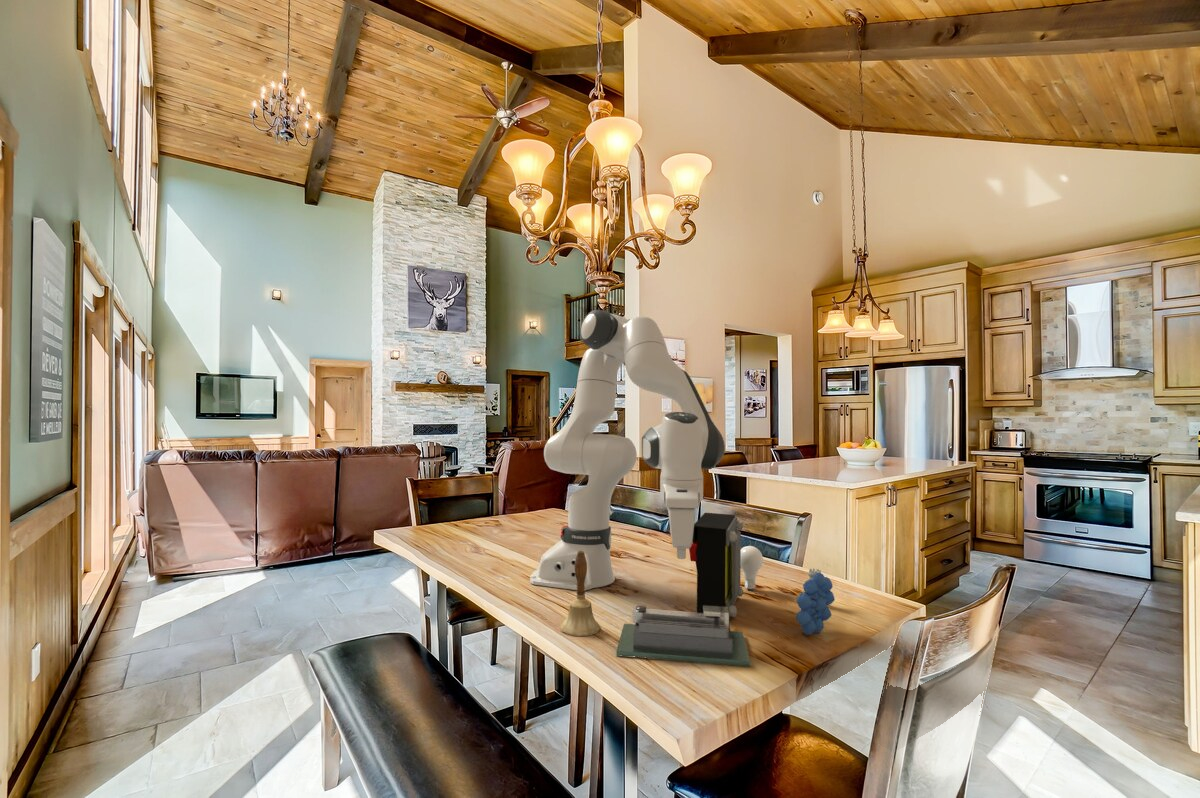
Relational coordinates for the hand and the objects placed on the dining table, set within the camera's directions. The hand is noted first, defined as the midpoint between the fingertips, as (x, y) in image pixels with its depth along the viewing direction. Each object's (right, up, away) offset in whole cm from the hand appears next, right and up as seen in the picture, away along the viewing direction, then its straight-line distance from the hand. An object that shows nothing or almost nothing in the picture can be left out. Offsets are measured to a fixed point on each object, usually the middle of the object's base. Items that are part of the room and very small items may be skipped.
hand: (681, 556), depth 113 cm
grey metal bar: (-3, -10, -8) cm, 14 cm away
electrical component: (+10, -16, +13) cm, 23 cm away
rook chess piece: (+34, -16, +15) cm, 41 cm away
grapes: (+27, -16, -1) cm, 31 cm away
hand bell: (-21, -15, 0) cm, 26 cm away
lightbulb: (+21, -16, +25) cm, 37 cm away
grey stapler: (-1, -15, -8) cm, 17 cm away
